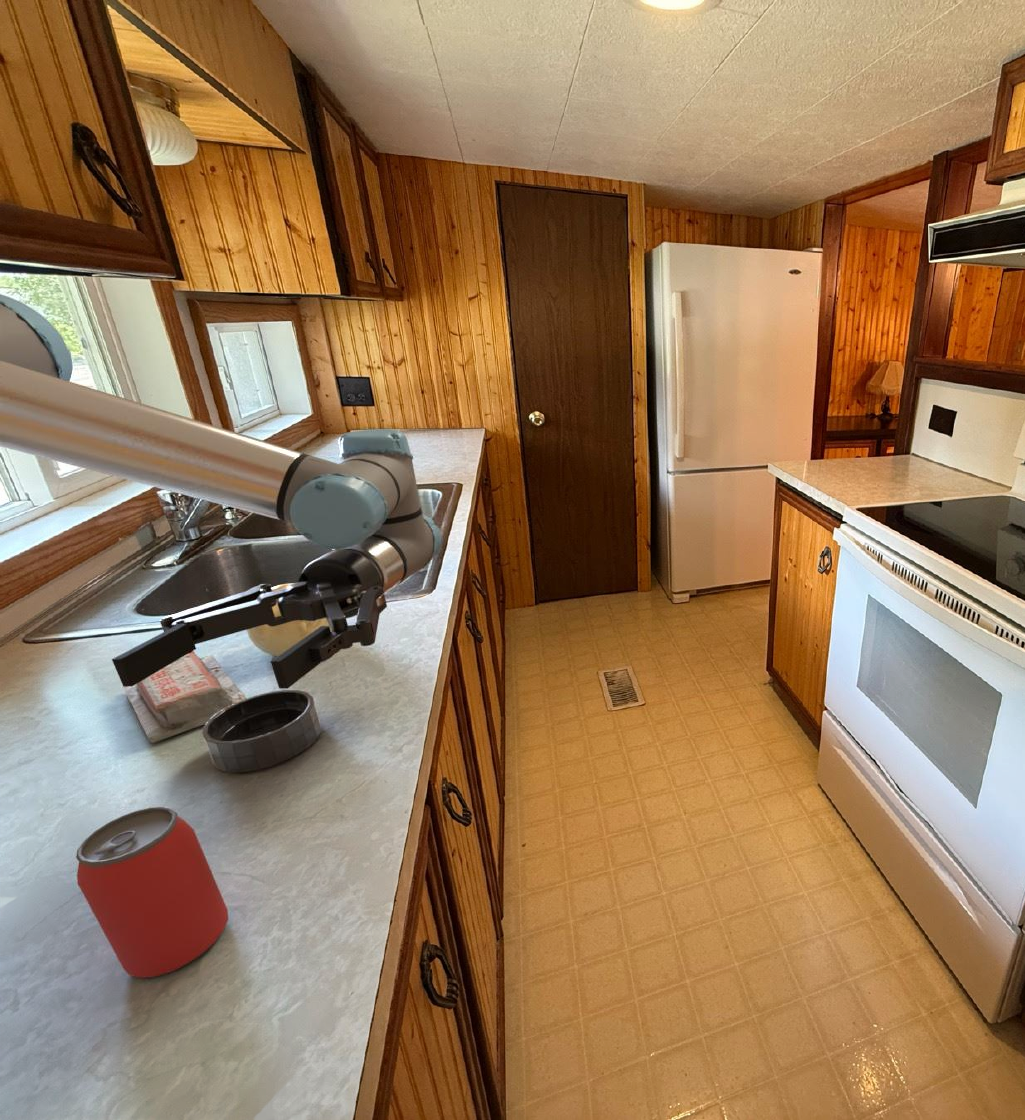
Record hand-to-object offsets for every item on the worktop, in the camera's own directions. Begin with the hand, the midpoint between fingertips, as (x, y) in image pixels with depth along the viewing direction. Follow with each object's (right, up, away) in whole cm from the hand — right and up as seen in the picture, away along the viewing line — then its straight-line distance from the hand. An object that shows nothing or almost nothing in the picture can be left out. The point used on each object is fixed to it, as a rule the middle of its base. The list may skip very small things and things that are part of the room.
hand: (200, 674), depth 52 cm
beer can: (0, -22, -1) cm, 22 cm away
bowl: (-11, -13, +22) cm, 28 cm away
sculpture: (-24, -4, +44) cm, 50 cm away
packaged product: (-29, -9, +30) cm, 43 cm away
